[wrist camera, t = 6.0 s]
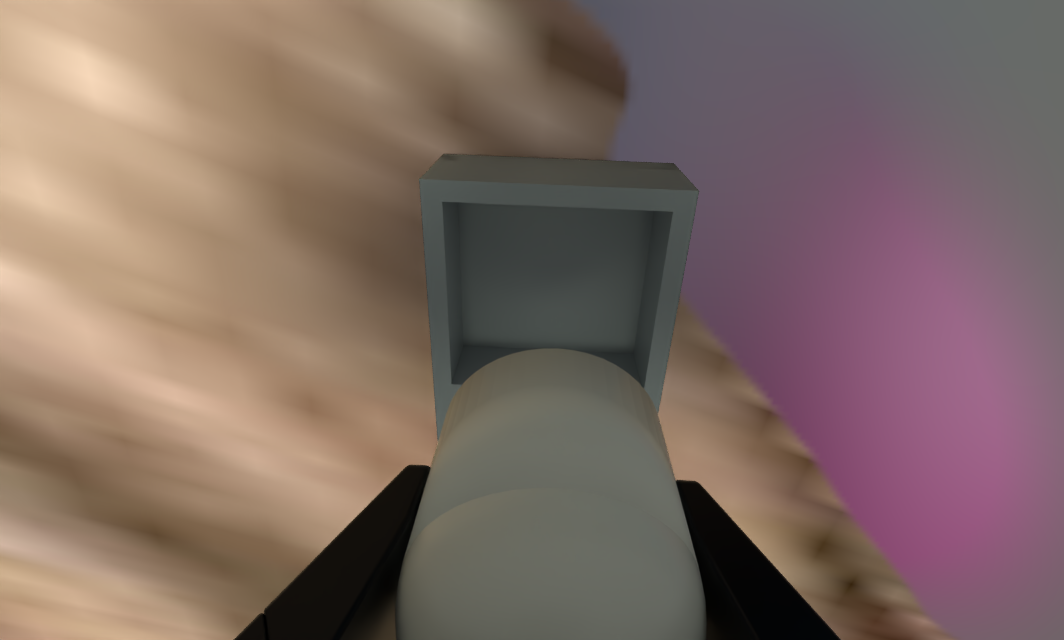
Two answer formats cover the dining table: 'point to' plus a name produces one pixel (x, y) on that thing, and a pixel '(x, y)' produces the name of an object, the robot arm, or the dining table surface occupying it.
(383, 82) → the dining table surface
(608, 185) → the grey long rectangular tray
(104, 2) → the dining table surface
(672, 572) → the cream egg
